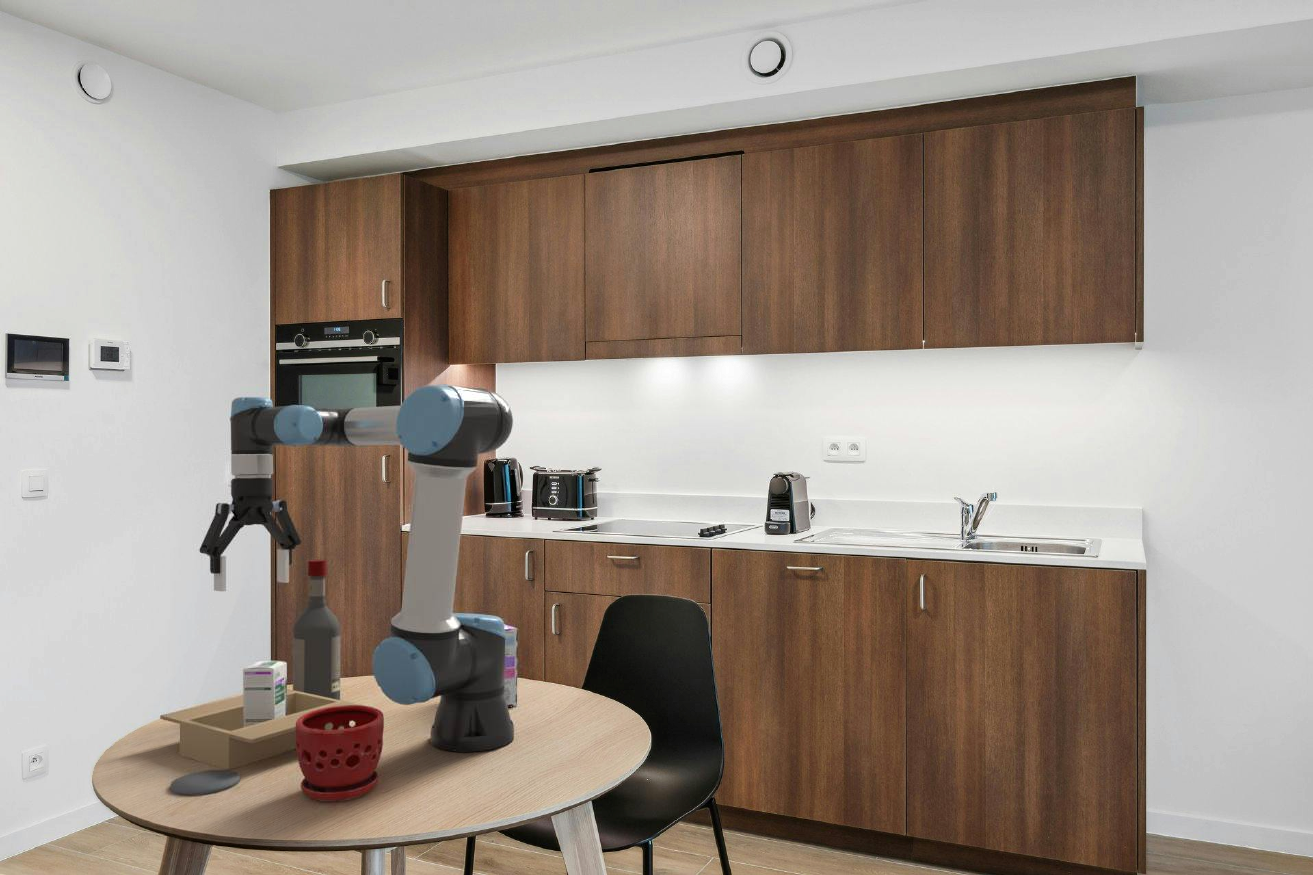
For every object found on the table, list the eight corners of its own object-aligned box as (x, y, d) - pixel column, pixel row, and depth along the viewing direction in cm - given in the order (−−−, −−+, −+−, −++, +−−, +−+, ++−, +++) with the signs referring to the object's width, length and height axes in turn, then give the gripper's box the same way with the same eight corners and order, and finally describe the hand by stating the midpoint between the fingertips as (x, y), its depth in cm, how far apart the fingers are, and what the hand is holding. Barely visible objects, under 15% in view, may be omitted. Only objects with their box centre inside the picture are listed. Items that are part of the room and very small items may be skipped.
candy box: (518, 706, 197) (518, 627, 197) (492, 711, 194) (492, 630, 194) (490, 692, 209) (491, 617, 209) (465, 696, 205) (466, 620, 205)
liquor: (293, 711, 193) (295, 563, 194) (292, 700, 202) (293, 559, 202) (340, 706, 197) (341, 562, 197) (337, 695, 205) (338, 557, 206)
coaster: (253, 780, 153) (253, 776, 153) (194, 800, 144) (194, 796, 144) (215, 769, 158) (215, 765, 158) (157, 787, 150) (157, 783, 150)
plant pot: (283, 789, 149) (284, 713, 149) (365, 772, 157) (366, 700, 157) (310, 815, 139) (311, 733, 139) (396, 795, 147) (397, 718, 147)
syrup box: (274, 749, 169) (275, 667, 169) (241, 748, 169) (242, 667, 169) (287, 739, 175) (288, 660, 175) (256, 739, 175) (256, 660, 175)
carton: (366, 738, 175) (366, 706, 175) (250, 776, 155) (251, 739, 155) (276, 717, 189) (277, 686, 189) (159, 749, 168) (160, 715, 169)
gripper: (295, 475, 197) (295, 577, 196) (179, 478, 176) (179, 593, 175) (318, 475, 192) (319, 580, 192) (202, 478, 172) (202, 596, 171)
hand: (252, 586), depth 184 cm, fingers open, 13 cm apart
